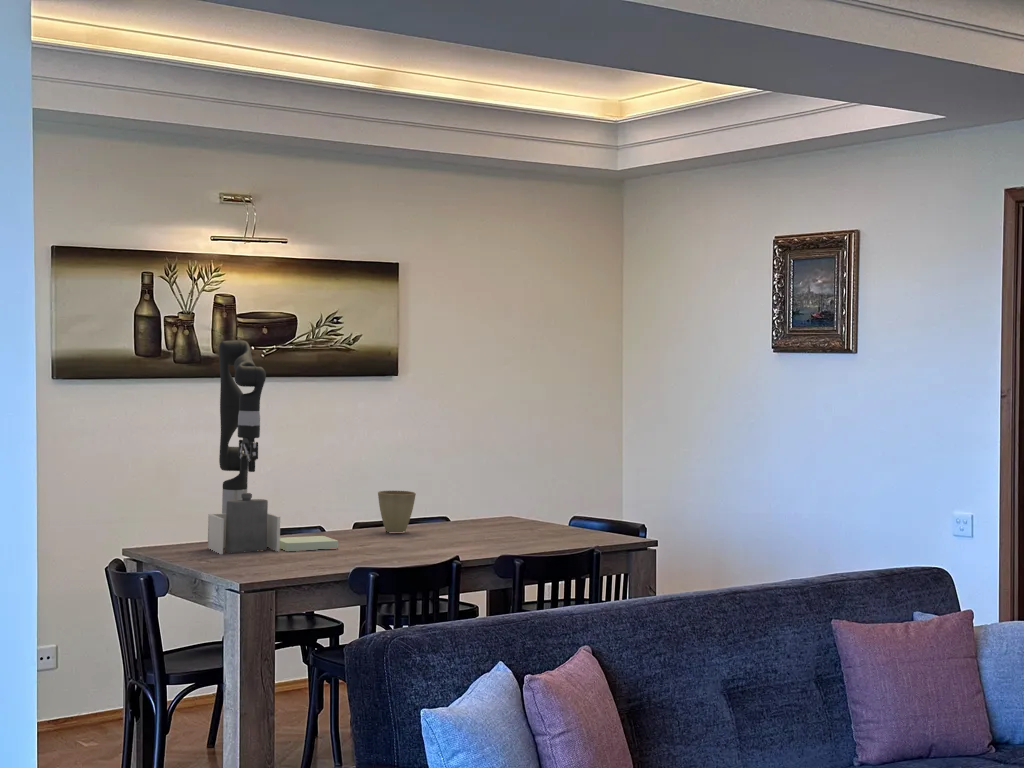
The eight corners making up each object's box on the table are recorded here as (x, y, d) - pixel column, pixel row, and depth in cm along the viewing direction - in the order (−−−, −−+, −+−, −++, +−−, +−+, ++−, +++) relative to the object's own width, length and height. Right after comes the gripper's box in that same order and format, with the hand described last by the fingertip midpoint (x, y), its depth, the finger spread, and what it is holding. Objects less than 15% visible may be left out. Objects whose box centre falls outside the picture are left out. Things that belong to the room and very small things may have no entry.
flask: (261, 548, 433) (262, 491, 433) (268, 550, 428) (270, 493, 428) (221, 551, 423) (223, 493, 423) (229, 553, 419) (230, 494, 419)
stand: (273, 546, 438) (273, 538, 438) (323, 544, 448) (323, 535, 448) (286, 551, 426) (287, 543, 426) (338, 549, 436) (338, 540, 436)
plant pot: (370, 533, 480) (371, 492, 480) (385, 529, 495) (386, 489, 494) (406, 536, 476) (407, 495, 476) (420, 531, 490) (421, 491, 490)
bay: (207, 548, 429) (208, 514, 429) (265, 545, 439) (266, 512, 439) (219, 554, 416) (220, 518, 416) (279, 551, 427) (280, 516, 427)
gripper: (232, 422, 430) (230, 469, 430) (244, 425, 418) (243, 472, 418) (252, 423, 434) (251, 469, 434) (266, 425, 421) (264, 472, 421)
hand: (247, 470), depth 426 cm, fingers open, 8 cm apart
